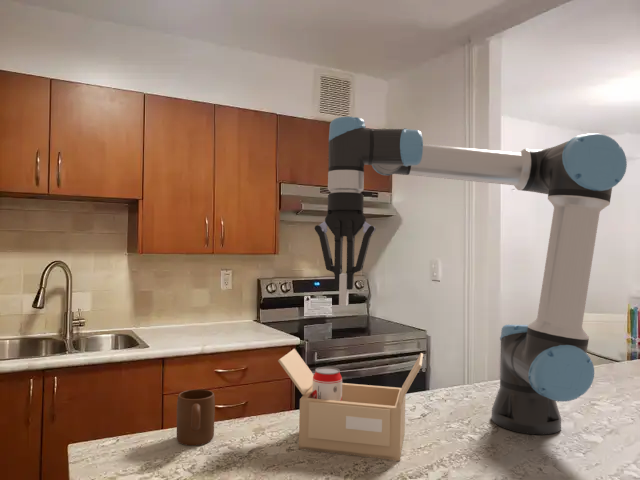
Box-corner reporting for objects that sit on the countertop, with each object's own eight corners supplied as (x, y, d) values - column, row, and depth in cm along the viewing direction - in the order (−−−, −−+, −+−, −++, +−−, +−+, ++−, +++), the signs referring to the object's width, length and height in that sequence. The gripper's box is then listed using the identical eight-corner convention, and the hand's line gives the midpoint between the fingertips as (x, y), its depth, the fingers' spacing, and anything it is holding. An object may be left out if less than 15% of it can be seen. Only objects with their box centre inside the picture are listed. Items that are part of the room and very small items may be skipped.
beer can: (343, 441, 110) (344, 367, 110) (338, 454, 104) (340, 375, 103) (314, 439, 111) (315, 365, 111) (308, 451, 105) (309, 373, 105)
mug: (215, 454, 100) (216, 405, 100) (174, 457, 98) (175, 407, 98) (213, 431, 111) (214, 388, 111) (177, 433, 110) (177, 389, 110)
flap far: (304, 393, 104) (302, 395, 104) (317, 379, 115) (315, 380, 115) (279, 359, 105) (277, 360, 105) (294, 348, 116) (292, 349, 116)
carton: (404, 433, 112) (405, 387, 112) (399, 462, 98) (400, 409, 98) (315, 424, 117) (316, 380, 117) (298, 450, 102) (299, 400, 102)
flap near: (402, 386, 111) (404, 387, 110) (398, 402, 100) (400, 403, 100) (421, 352, 110) (423, 353, 110) (419, 364, 99) (421, 365, 99)
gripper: (378, 194, 110) (376, 304, 110) (319, 194, 113) (317, 301, 113) (374, 190, 103) (372, 308, 103) (311, 191, 106) (309, 305, 106)
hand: (343, 304), depth 108 cm, fingers closed
